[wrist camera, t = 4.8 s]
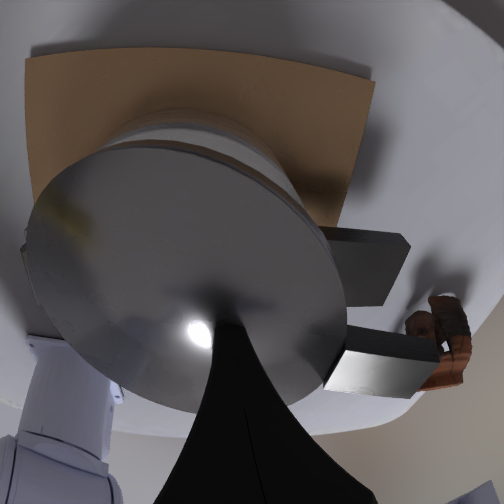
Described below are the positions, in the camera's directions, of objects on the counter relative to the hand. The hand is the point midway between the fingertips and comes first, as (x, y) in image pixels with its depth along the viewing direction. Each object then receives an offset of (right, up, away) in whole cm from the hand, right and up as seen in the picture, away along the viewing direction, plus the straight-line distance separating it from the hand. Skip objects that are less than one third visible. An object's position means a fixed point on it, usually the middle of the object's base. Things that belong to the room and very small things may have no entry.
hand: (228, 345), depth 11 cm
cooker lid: (-1, +1, +1) cm, 1 cm away
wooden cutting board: (-3, +5, +7) cm, 9 cm away
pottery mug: (+16, -4, +17) cm, 24 cm away
